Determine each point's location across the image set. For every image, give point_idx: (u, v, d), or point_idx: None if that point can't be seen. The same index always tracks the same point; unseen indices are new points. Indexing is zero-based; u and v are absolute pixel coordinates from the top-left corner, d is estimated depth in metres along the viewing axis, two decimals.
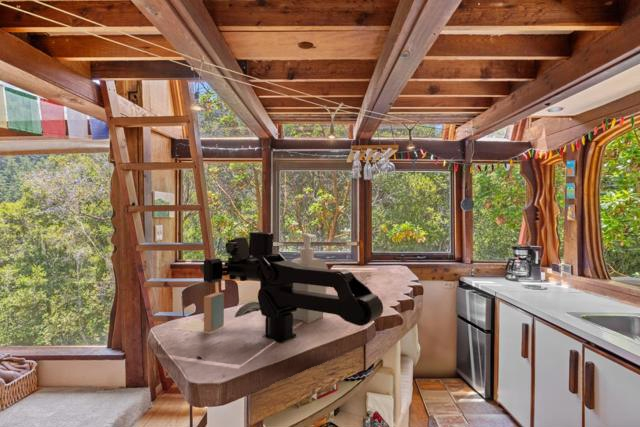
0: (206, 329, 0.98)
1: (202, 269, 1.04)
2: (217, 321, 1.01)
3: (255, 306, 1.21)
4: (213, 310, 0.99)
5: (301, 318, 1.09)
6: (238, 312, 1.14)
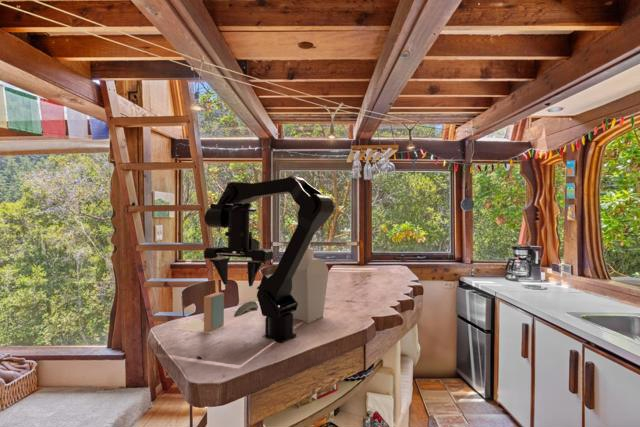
0: (206, 329, 0.98)
1: None
2: (217, 321, 1.01)
3: (253, 306, 1.22)
4: (213, 310, 0.99)
5: (301, 318, 1.09)
6: (237, 312, 1.14)
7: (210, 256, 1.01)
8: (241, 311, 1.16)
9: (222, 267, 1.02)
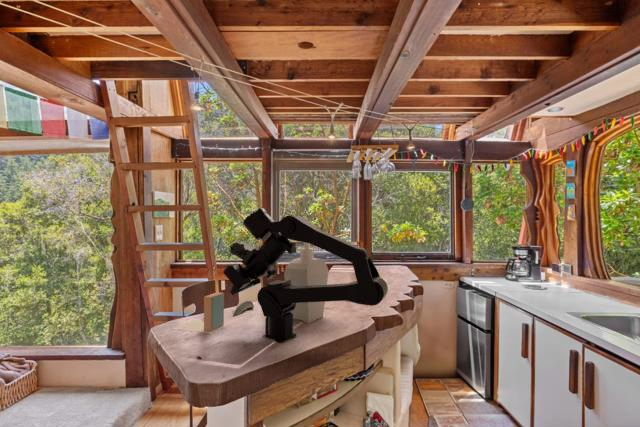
0: (206, 329, 0.98)
1: (235, 290, 0.98)
2: (217, 321, 1.01)
3: (249, 305, 1.22)
4: (213, 310, 0.99)
5: (301, 318, 1.09)
6: (236, 312, 1.14)
7: (244, 286, 0.91)
8: (239, 311, 1.16)
9: None
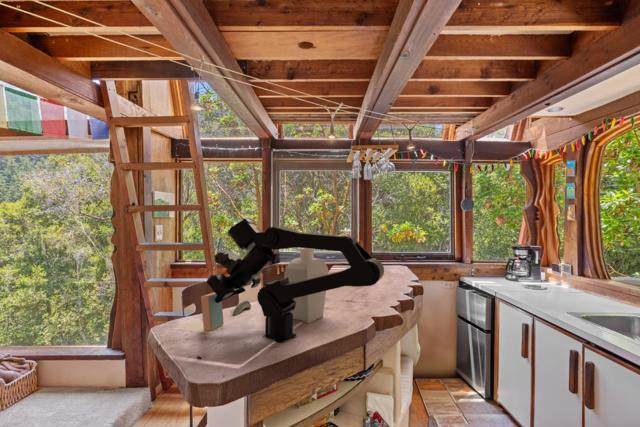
0: (206, 329, 0.98)
1: (219, 298, 1.00)
2: (216, 320, 1.01)
3: (247, 305, 1.23)
4: (211, 309, 0.99)
5: (301, 318, 1.09)
6: (235, 311, 1.15)
7: (227, 296, 0.92)
8: (238, 311, 1.16)
9: None
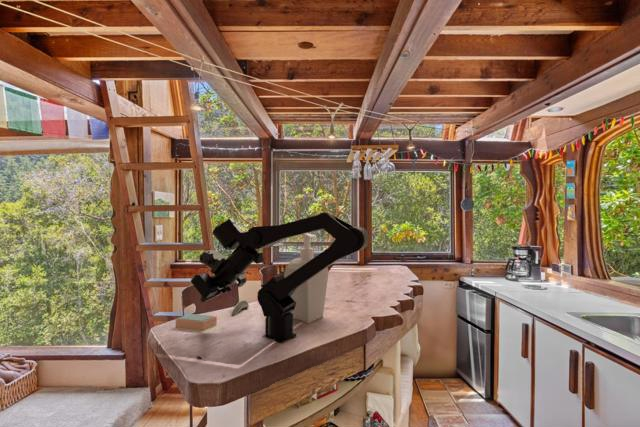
0: (202, 327, 0.99)
1: (205, 298, 1.01)
2: (204, 318, 1.02)
3: (245, 305, 1.23)
4: (189, 319, 1.01)
5: (301, 318, 1.09)
6: (234, 311, 1.15)
7: (211, 295, 0.94)
8: (237, 310, 1.16)
9: None
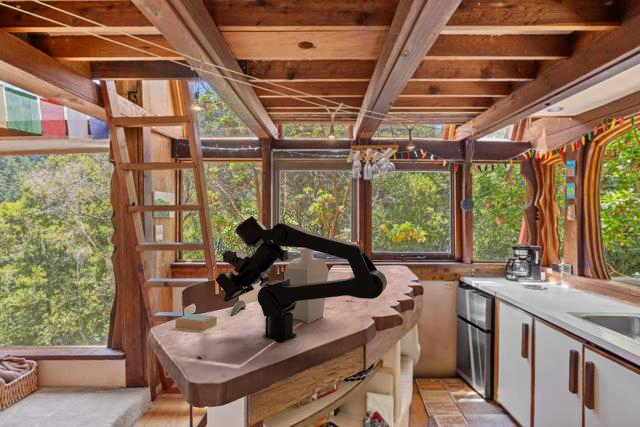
0: (202, 327, 0.99)
1: (228, 297, 0.99)
2: (204, 318, 1.02)
3: (243, 305, 1.23)
4: (189, 319, 1.01)
5: (301, 318, 1.09)
6: (233, 311, 1.15)
7: (236, 294, 0.91)
8: (236, 310, 1.16)
9: None
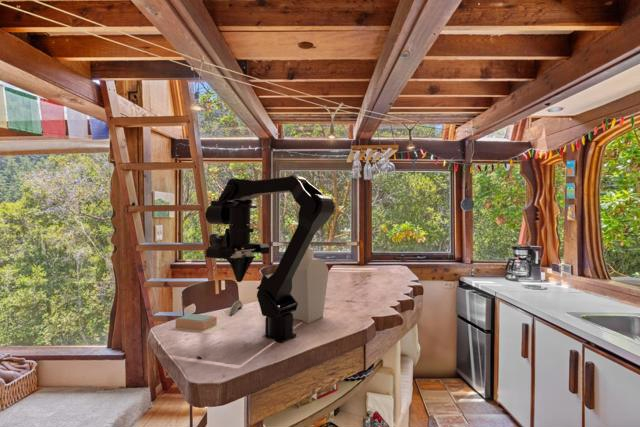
0: (202, 327, 0.99)
1: (237, 275, 1.01)
2: (204, 318, 1.02)
3: (240, 305, 1.23)
4: (189, 319, 1.01)
5: (301, 318, 1.09)
6: (232, 311, 1.15)
7: (228, 255, 0.94)
8: (234, 310, 1.17)
9: None
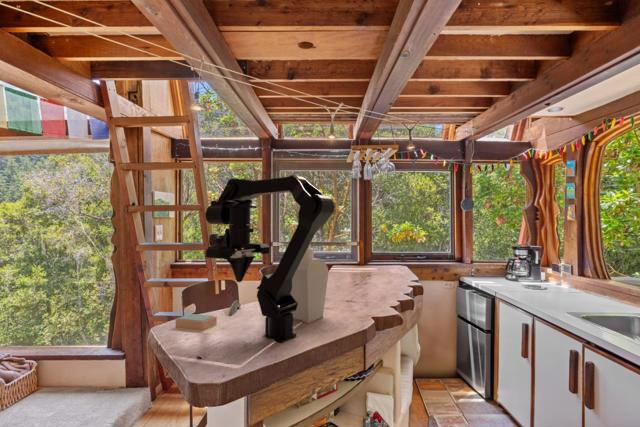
0: (202, 327, 0.99)
1: (237, 275, 1.01)
2: (204, 318, 1.02)
3: (238, 304, 1.23)
4: (189, 319, 1.01)
5: (301, 318, 1.09)
6: (231, 311, 1.15)
7: (228, 255, 0.94)
8: (233, 310, 1.17)
9: None
